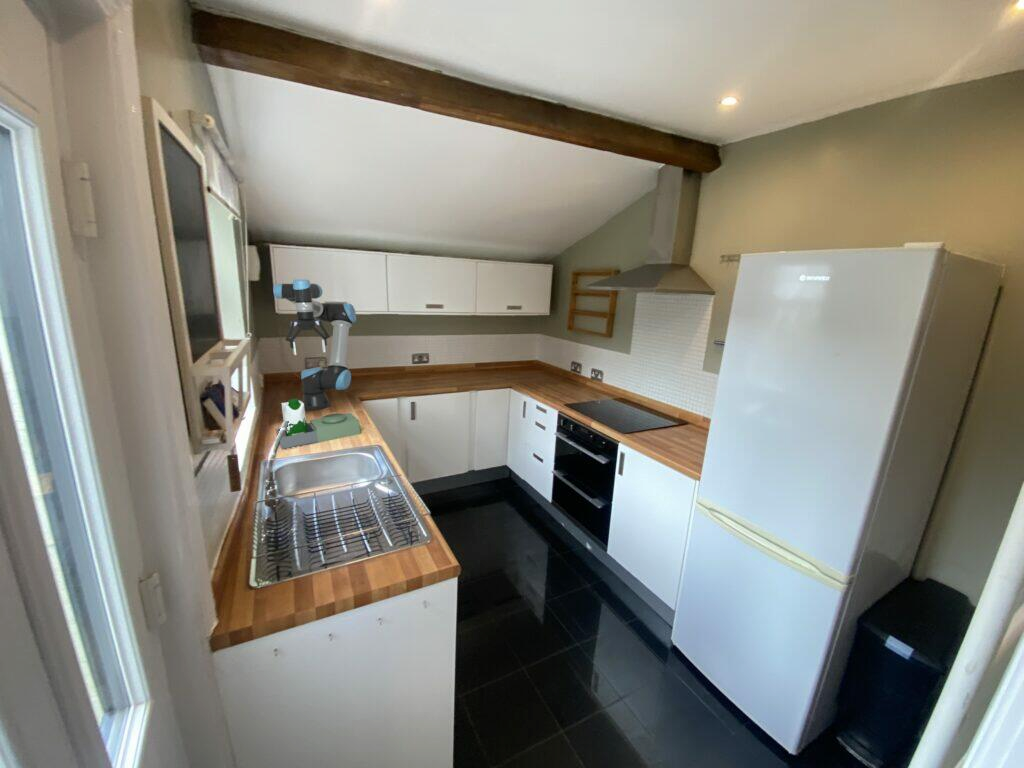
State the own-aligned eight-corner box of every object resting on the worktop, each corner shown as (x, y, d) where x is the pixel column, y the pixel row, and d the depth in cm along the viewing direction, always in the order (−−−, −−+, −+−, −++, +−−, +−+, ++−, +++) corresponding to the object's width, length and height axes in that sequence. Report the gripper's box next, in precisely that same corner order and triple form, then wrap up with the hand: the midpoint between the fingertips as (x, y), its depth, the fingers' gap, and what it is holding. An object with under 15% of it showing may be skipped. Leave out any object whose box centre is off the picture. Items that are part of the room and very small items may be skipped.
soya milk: (289, 445, 181) (283, 402, 176) (284, 439, 187) (278, 398, 183) (310, 440, 186) (305, 399, 182) (305, 435, 193) (299, 395, 188)
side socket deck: (351, 425, 208) (349, 409, 206) (360, 433, 197) (358, 417, 195) (277, 440, 189) (274, 422, 187) (282, 450, 177) (279, 431, 175)
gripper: (277, 312, 191) (283, 356, 196) (333, 310, 205) (337, 351, 210) (275, 311, 197) (281, 354, 202) (329, 310, 211) (333, 350, 216)
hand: (309, 353), depth 206 cm, fingers open, 13 cm apart
